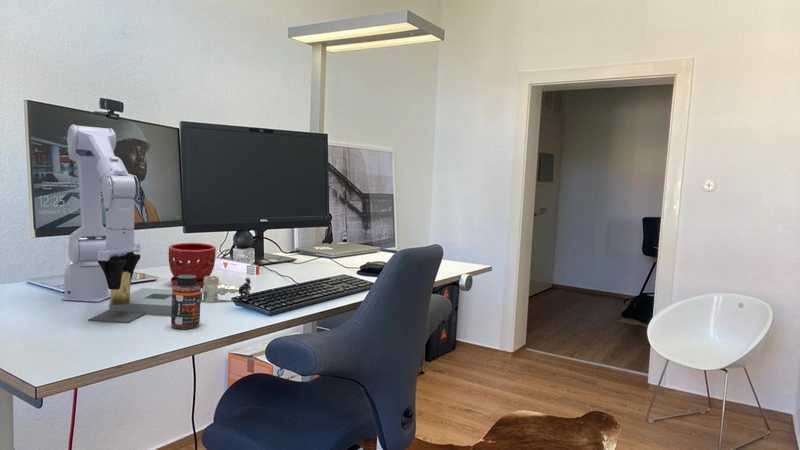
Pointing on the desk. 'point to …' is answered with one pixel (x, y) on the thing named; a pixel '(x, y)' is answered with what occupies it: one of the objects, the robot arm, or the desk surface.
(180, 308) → the supplement bottle
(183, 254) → the plant pot
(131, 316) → the rubber mat
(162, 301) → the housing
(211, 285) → the valve
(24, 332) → the desk surface
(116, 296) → the brass cover
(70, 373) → the desk surface
